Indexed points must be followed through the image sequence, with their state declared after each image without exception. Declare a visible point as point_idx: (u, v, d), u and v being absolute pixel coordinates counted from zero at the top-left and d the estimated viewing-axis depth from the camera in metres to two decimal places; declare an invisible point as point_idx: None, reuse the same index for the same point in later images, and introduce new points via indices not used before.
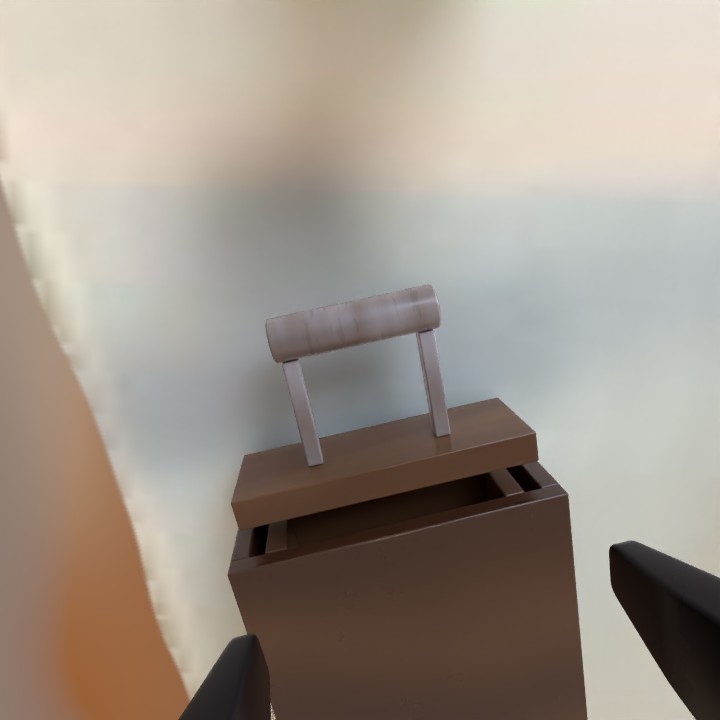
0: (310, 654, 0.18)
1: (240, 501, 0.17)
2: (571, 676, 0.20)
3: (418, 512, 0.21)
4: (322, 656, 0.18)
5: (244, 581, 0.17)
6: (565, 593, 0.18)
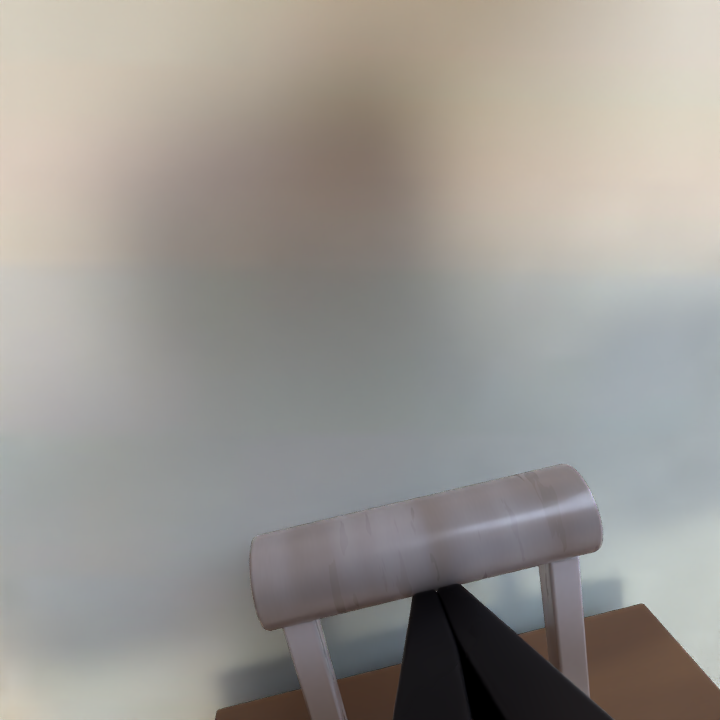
0: None
1: None
2: None
3: None
4: None
5: None
6: None
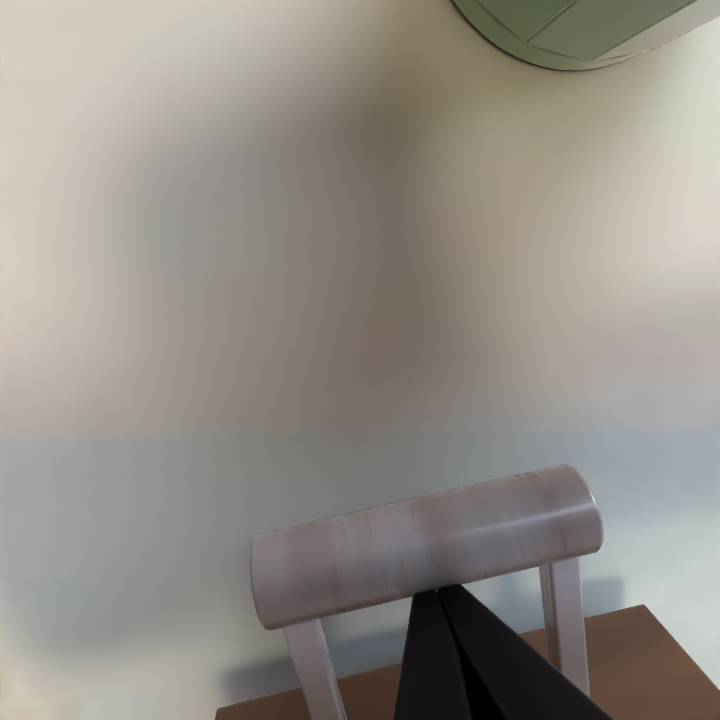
0: None
1: None
2: None
3: None
4: None
5: None
6: None
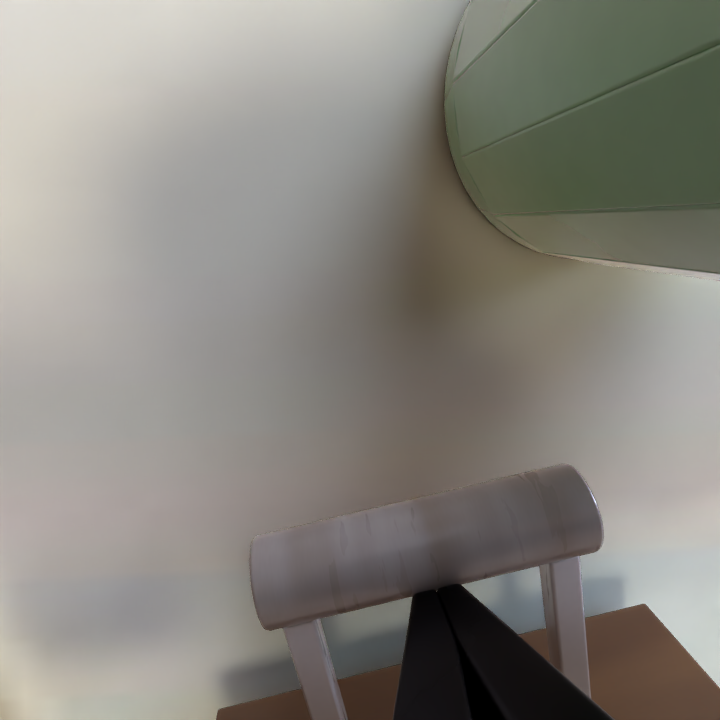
0: None
1: None
2: None
3: None
4: None
5: None
6: None
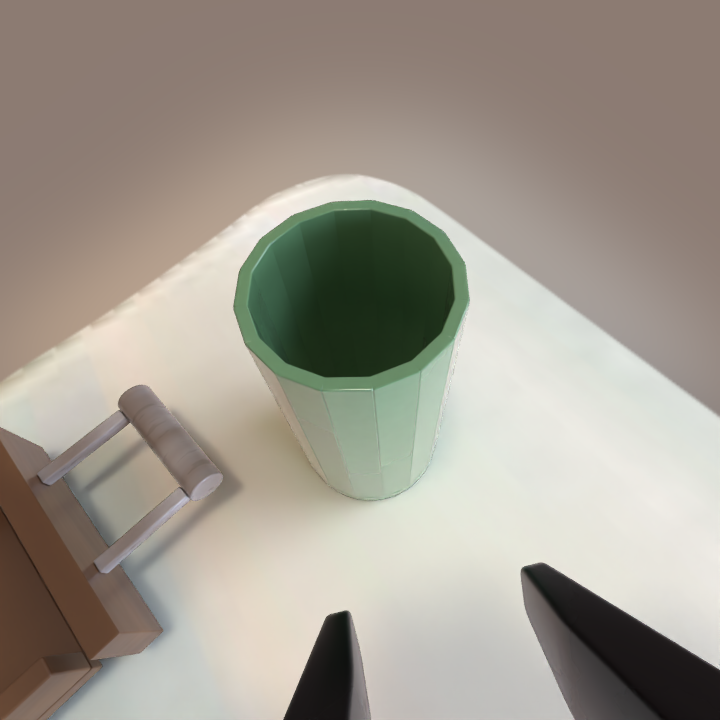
0: None
1: None
2: None
3: (11, 619, 0.20)
4: None
5: None
6: None
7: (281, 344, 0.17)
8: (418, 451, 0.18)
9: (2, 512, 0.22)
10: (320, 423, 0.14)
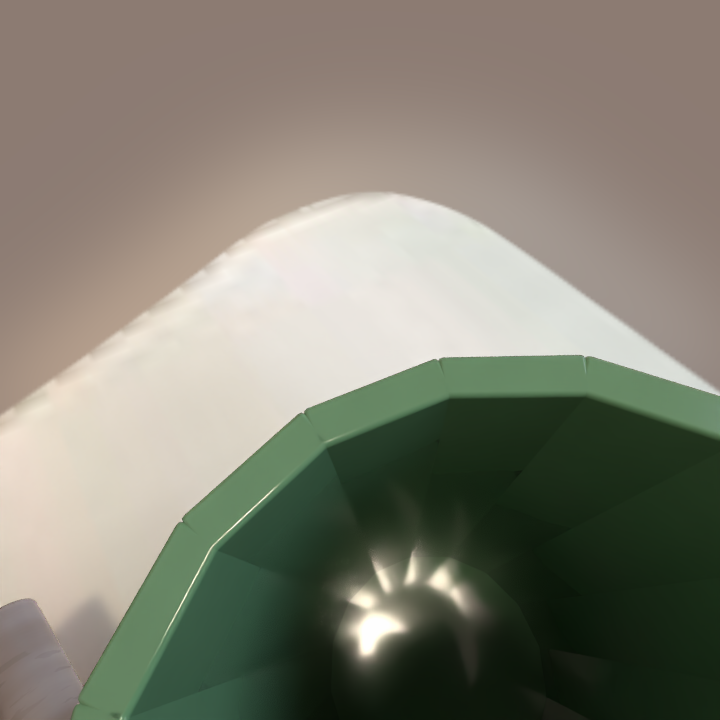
0: None
1: None
2: None
3: None
4: None
5: None
6: None
7: (269, 671, 0.07)
8: None
9: None
10: None
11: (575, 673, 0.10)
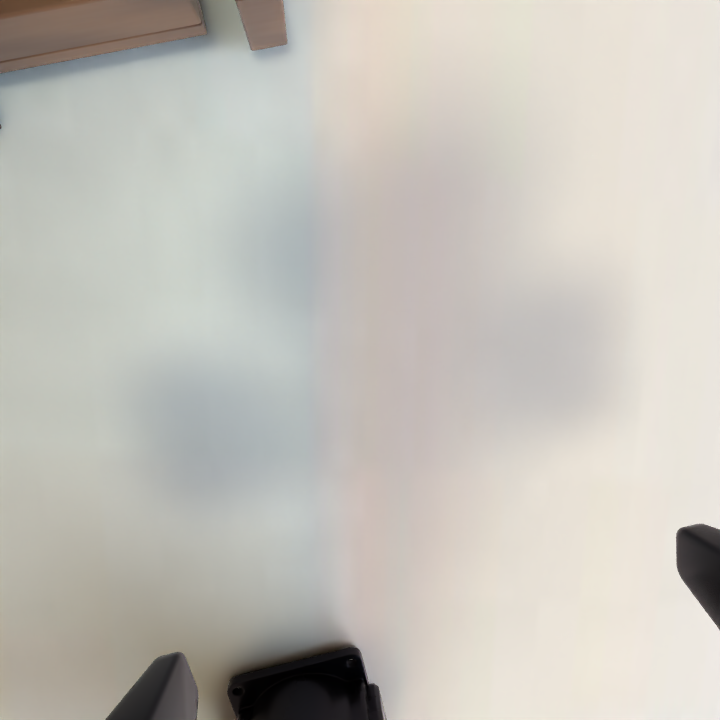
0: None
1: None
2: None
3: None
4: None
5: None
6: None
7: None
8: None
9: None
10: None
11: None
